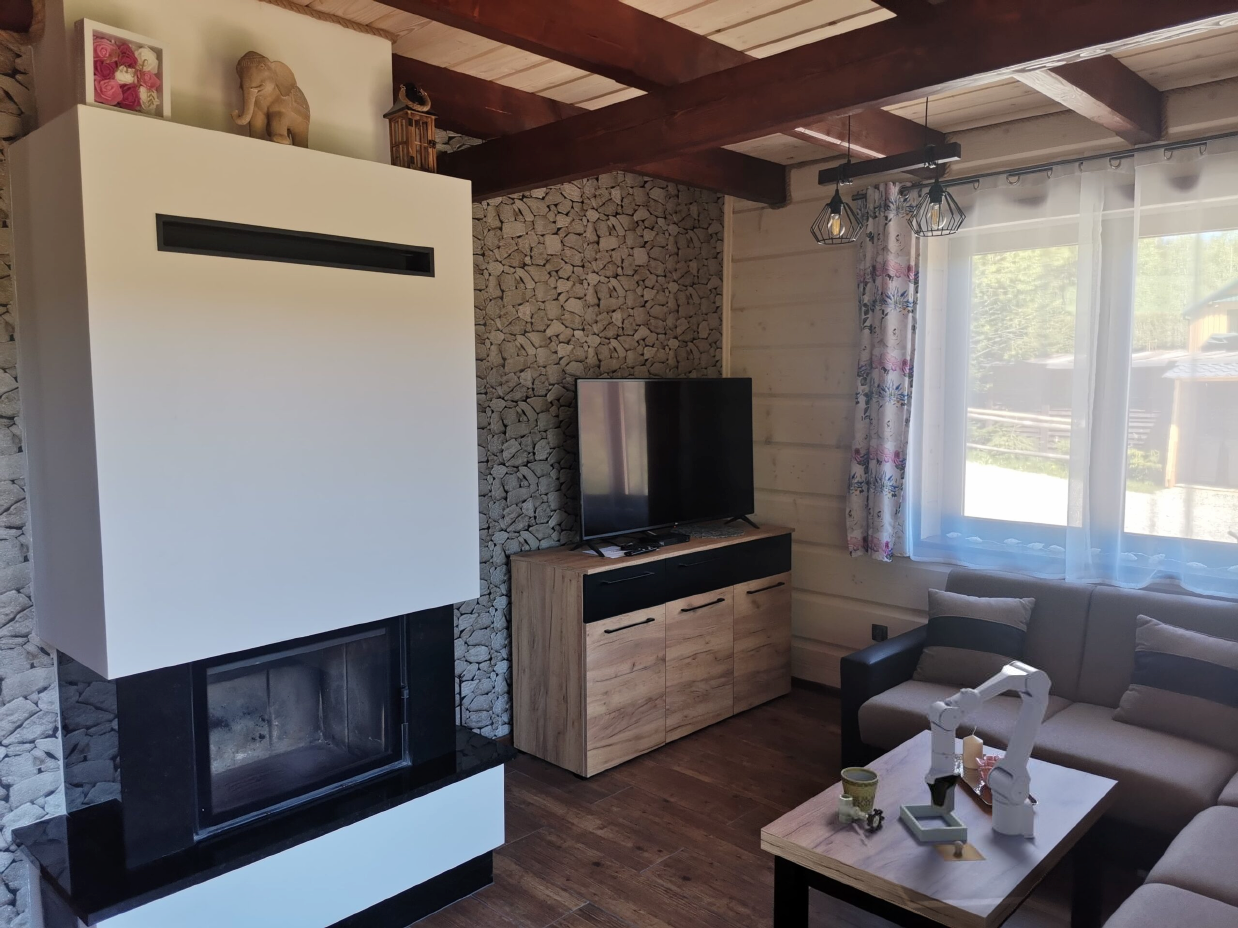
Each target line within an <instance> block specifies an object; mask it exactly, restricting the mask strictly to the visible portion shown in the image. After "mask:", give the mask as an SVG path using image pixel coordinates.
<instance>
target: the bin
mask: <svg viewBox="0 0 1238 928" xmlns="http://www.w3.org/2000/svg"><path fill="white" fill-rule="evenodd" d="M899 817H901V819H902V820H903V821H904V823H905V824H906V825H907V826H908V828H909V829H910V830H911V831H912V832H913V834H914V835H915V836H916V837H917V839H918V840H919V841H920V842H940V841H941V842H942V841H944V842H945V841H946V842H947V841H966V840H968V827H967V826H966V825H965V824H964V823H963V822H962V821H961V820H960V819H959V818H958V817H957V815H956V814H955V813H954V812H953V811H952V812H950V813H949V814H947V815H944V814H942V813H939V812H936V811H933V810H931V803H918V804H917V803H916V804H915V803H914V804H900V805H899ZM916 817H917V818H918V817H919V818H920V817H943V818H944V820H946V822H947V823H948V824H949V825H950V826H942V827H941V826H940V827H922V825H921V824H920V823H919V822H918V821H917V820H916Z"/></svg>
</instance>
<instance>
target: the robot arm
mask: <svg viewBox="0 0 1238 928" xmlns="http://www.w3.org/2000/svg"><path fill="white" fill-rule="evenodd" d="M1051 686H1052V681H1051V679H1050V677H1049V675H1048V674H1047V673H1046V671H1043V670H1041V669H1037V668H1035V667H1033V666H1031V665H1028V664H1026V663H1024V662H1022V661H1020V660H1014V661H1012V662H1010V663H1008V664H1007V665H1006V664H1005V665H1004V666H1003V667H1002V669H1001V671H1000V672H998V673H997V674H995V675H994V676H993V677H990V679H988V680H986V681H984V683H982V684H980V685H979V686H977V687H976V688H975V689H972V688H969V687H968V688H962V689H960V690H959V692H957V693H956V694H954V695H952V696H951V697H947V698H945V699H944V701H939V700H938V701H936V702H933V703H932V704H931V705H930V706H929V708H928V711H926V717H927V720H929V722H930V728H931V734H930V735H931V737H930V738H931V739H930V740H931V743H930V745H931V746H930V749H931V751H930V755H931V756H930V759H931V760H930V766H929V768H928V770H927V772H926V773H925V775H924V782H925V784H926V785H927V787H928V789H929V792H930V797H931V796H932V800H933V804H934V805H936V806H939V807H942V806H943V802H944V794H945V790H946V788H947V785H948V784H949V783H950V784H953V785H955V788H956V787H957V784H958V782H959V780H960V778H961V777H962V774H961V772H960V770H959V769H960V768H961V760H959V759H956V729H958V727H959V726H960V724H961V722H962V721H963V720H964V719H965V718H967V717H968V716H970V715H972V714H974V713H976V712H977V711H979V710H980V709H982V707H983V702H985V701H987V700H989V699H992V698H993V697H996V696H998V695H1000V694H1001V693H1004V692H1006V691H1007V690H1010V691H1011V690H1012V691H1017V692H1018V694H1019V695H1020V697H1021V699H1022V701H1023V702H1022V704H1021V708H1020V710H1019V714H1018V716H1017V719H1016V722H1015V725H1014V727H1013V729H1012V730H1013V731H1012V734H1011V736H1010V738H1009V741H1008V742H1009V743H1008V744H1007V745H1008V746H1007V747H1006V750H1005V754H1004V756H1003V757H1002V758H1000V759H997V760H996V761H995V762H994V764H993V767H992V768H991V769H990V770H989V771H988V773H987V776H986V784H987V786H988V787H989V788H990V789H991V792H990V793H991V794H992V809H991V811H992V812H991V815H992V817H991V818H992V819H991V820H992V821H991V826H992V829H993V830H994V831H996V832H997V833H1000V834H1003V835H1009V836H1016V835H1017V836H1018V835H1021V836H1023V838H1025V839H1035V838H1036V835H1035V834H1034V831H1035V830H1034V827H1035V826H1034V825H1035V823H1034V822H1035V818H1034V817H1035V816H1034V814H1035V812H1034V807H1033V806H1034V805H1033V803H1032V802H1031V800H1030V799H1029V796H1030V783H1031V780H1032V778H1031V776H1030V773H1029V770H1028V769H1027V766H1028V763H1029V759H1030V757H1031V753H1032V751H1033V748H1034V745H1035V742H1036V740H1037V736H1038V733H1039V731H1040V729H1041V725H1042V724H1043V719H1044V716H1045V714H1046V711H1047V708H1048V705H1049V691H1050V689H1051Z"/></svg>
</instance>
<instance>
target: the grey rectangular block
mask: <svg viewBox="0 0 1238 928" xmlns="http://www.w3.org/2000/svg"><path fill="white" fill-rule="evenodd" d="M955 790H956V787H955V785H953V784H950V783H949V784H948V785H947V788H946V790H945V794H944V802H943V806H942V807H939V806H936V805H934V804H933V800H932V796H931V795H930V804H931V810H933V811H936V812H939V813H942V814H944V815H947V814H949V813H950V812H953V811H955V794H956V793H955V792H956V791H955Z"/></svg>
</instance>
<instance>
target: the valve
mask: <svg viewBox="0 0 1238 928" xmlns="http://www.w3.org/2000/svg"><path fill="white" fill-rule="evenodd" d="M838 798H839V799H838V803H837V812H838V821H839V822H840V823H843V824H851V823H853V819H855V820H857V819H860V820H863V821H866V826H867V827H869V828H870V829H868V832H869V833H871V834H873V833H875V831H878V830H879V829H882V828H883V827H884V825H883V824H882V822H883V821H885V816H883V813H884V811H883V810H882V809H880V808H878V809H877V808H874V807H873V809H872V812H873V813H869V814H868V815H867V814H866V813H863V812H861V811H860V808H858V807H853V804H852V803H853V797H852V796H851V795H848V794H844V793H842V794H840V795H839V796H838ZM877 817H878V818H877ZM875 825H876V826H875Z"/></svg>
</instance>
